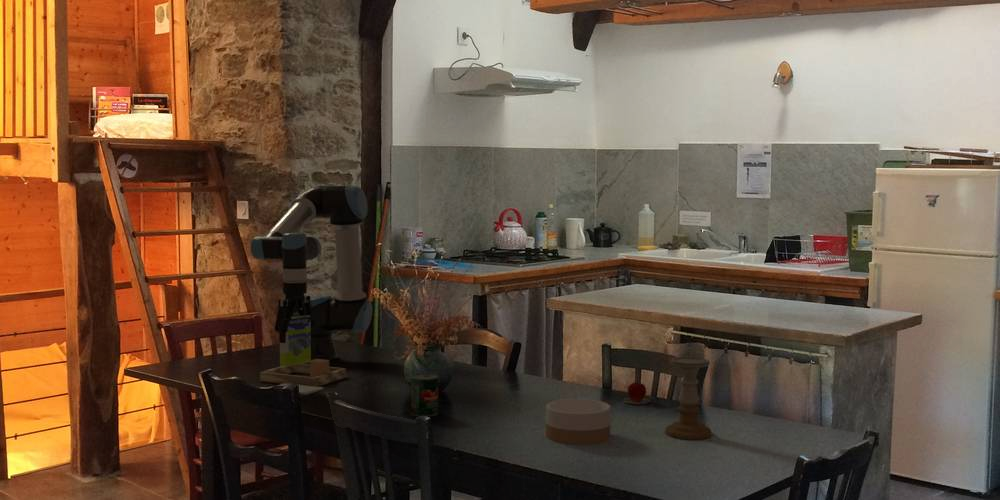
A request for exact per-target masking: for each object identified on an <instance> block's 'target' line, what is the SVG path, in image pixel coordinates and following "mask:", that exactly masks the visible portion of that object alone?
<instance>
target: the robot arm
mask: <svg viewBox="0 0 1000 500" xmlns="http://www.w3.org/2000/svg"><path fill="white" fill-rule="evenodd" d="M368 207H369V206H368V201H367V197H366V194H365V192H364V190H363V189H362V188H361V187H359V186H356V185H355V186H353V185H317V186H313V187H311V188H309V189H306V190H305V191H304V192H302V193H301V194H299V195H298V196H297V197H296V198H294V200H293V201H291V204H290V209H288V210H287V211H286V212H285V213H284V215H282V217H281V218H280V219H279V220H278V222H276V223H275V224H274V226H273V227H272V228H271V229H270V230H269V231H268V232H267V233H266V235H264V236H262V235H260V236H259V235H258V236H254V237H253V238H252V239H251V242H250V253H251V256H252V258H254V259H256V260H257V259H258V260H263V261H265V260H278V261H279V260H280V261H282V281H283V282H282V293H283V294H284V295H285V298H284V299H279V300H278V307H277V308H278V310H277V315H276V319H275V325H274V331H275V332H276V333H279V334H278V335H279V340H278V341H279V354H280V353H289V343H288V332H287V329H288V326H289V323H290V320H291V317H292V315H293V314H295V311H298V312H299V314H300V315H310V316H311V360H314V359H324V360H329V361H333V360H336V359H337V358H338V350H337V349H336V348H337V347H336V346H335V345H336V344H335V341H334V339H333V332H352V333H359V332H361V333H362V332H365V331H366V330H367V329H369V326H370V323H371V321H372V316H373V304H372V301H371V300H368V299H367V294H366V292H364V291H363V288H362V287H363V286H362V268H361V250H360V248H361V247H360V230H359V227H360V226H361V225H362V224H363V219H365V218H366V217H367V215H368ZM322 218H323V219H329V223H330V225H331V226H332V227H333V228H334V239H335V240H334V241H335V242H334V243H335V256H336V258H335V259H336V275H337V293H336V294H335V295H334V299H333V297H332V295H331V294H330V295H329V294H328V295H327V294H326V295H324V294H323V295H315V296H310V295H306V294H307V292H308V291H307V289H308V288H307V287H308V284H307V280H308V279H307V278H308V276H307V275H308V272H307V271H308V270H307V261H312V260H314V259H316V258H318V257H319V256H320V255H321V251H322V244H321V242H320V240H319V239H318V238H317V237H314V236H307V235H306V234H305V233H304V232H300V231H301V230H302V229H303V228H304V227H305V225H306V224H307V223H309V222H312V221H313V220H314V219H322ZM285 319H287V320H285ZM283 328H284V329H283Z"/></svg>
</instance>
